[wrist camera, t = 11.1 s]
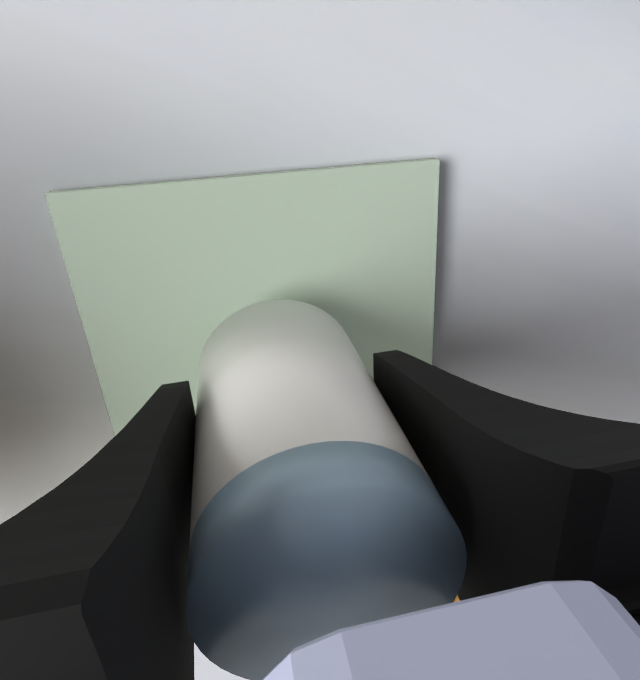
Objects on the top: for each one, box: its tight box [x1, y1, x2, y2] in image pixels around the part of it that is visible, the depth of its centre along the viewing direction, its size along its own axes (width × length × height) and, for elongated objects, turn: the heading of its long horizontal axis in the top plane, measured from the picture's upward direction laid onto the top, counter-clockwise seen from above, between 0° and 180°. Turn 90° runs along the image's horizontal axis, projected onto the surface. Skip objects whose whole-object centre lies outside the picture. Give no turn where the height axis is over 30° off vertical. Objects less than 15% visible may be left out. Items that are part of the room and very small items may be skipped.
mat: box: [44, 158, 440, 436], centre depth 15 cm, size 10×10×1 cm
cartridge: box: [186, 299, 467, 680], centre depth 11 cm, size 4×4×7 cm
